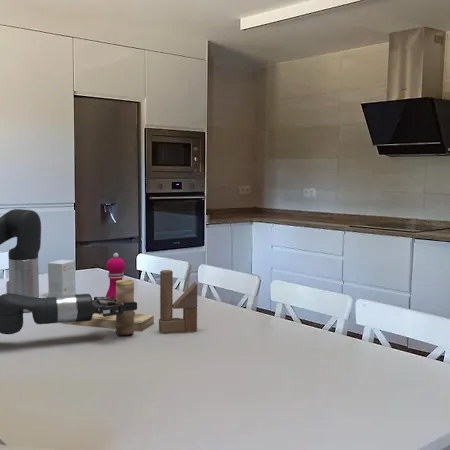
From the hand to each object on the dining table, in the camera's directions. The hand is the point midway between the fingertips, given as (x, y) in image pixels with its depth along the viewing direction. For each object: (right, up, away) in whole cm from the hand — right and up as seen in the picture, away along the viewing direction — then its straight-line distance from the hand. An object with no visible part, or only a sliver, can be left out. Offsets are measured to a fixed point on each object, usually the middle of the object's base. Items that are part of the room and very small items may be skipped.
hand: (134, 303), depth 161 cm
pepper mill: (-9, -7, +23) cm, 25 cm away
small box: (-34, -4, +46) cm, 57 cm away
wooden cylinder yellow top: (-2, -8, +1) cm, 8 cm away
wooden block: (+12, -9, +4) cm, 16 cm away
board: (-10, -8, +11) cm, 17 cm away
